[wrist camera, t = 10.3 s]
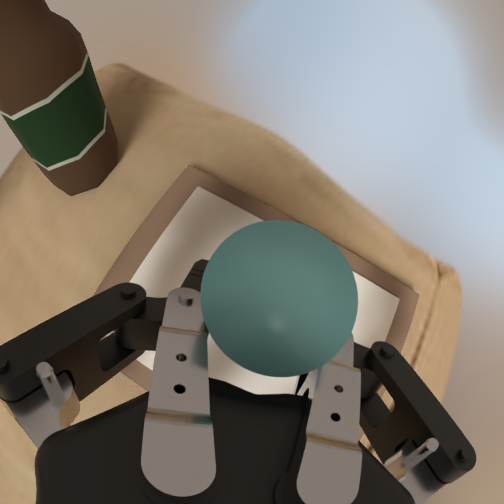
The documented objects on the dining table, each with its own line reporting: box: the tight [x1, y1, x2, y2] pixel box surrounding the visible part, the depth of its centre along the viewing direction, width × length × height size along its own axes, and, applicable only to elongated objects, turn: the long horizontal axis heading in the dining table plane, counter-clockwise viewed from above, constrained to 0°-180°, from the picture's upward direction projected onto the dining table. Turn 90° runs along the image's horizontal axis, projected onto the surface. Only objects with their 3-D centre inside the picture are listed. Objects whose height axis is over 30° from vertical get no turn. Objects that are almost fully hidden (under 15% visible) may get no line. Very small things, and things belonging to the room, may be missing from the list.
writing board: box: [93, 165, 419, 441], centre depth 18 cm, size 22×16×1 cm
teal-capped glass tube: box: [200, 220, 358, 377], centre depth 12 cm, size 4×4×12 cm
